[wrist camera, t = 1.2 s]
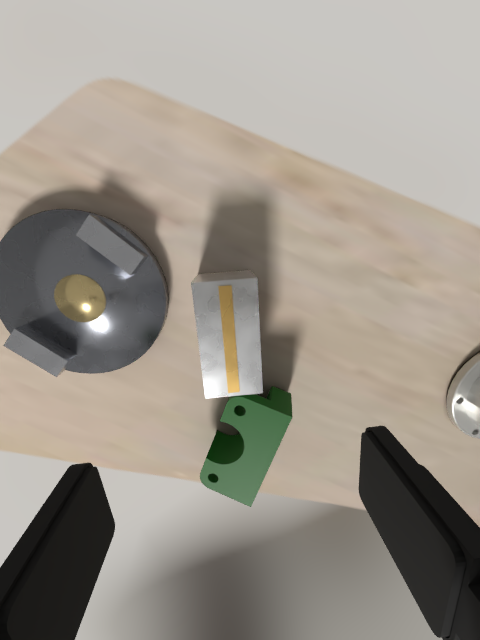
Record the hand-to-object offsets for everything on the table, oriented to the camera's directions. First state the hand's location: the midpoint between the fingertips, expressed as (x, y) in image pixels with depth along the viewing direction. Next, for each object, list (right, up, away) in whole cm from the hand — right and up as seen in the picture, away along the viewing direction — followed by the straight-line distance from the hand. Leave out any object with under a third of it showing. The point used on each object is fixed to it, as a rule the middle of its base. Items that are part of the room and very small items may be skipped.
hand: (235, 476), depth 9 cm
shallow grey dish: (-14, +8, +16) cm, 23 cm away
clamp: (+1, -6, +21) cm, 22 cm away
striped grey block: (-1, +5, +18) cm, 18 cm away
